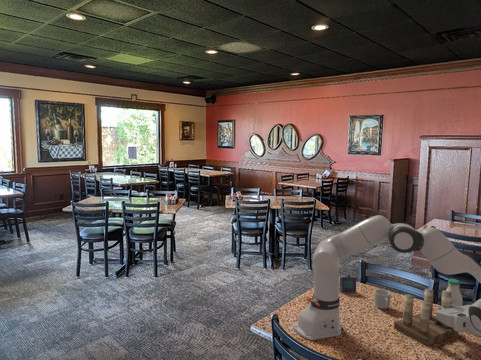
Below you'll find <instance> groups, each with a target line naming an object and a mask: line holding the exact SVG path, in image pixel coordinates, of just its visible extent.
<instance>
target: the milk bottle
mask: <svg viewBox="0 0 481 360" xmlns="http://www.w3.org/2000/svg"><path fill="white" fill-rule="evenodd" d="M447 284H448V286H447V288H446V290H445V291H449V292H451V304H452V305H455V306H459V307H460V306H463V296H462V295H463V294H462V293H461V290H460V285H461V282H460V280H458V279H455V278H449V279H448V280H447Z"/></svg>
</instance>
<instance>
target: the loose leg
mask: <svg viewBox="0 0 481 360" xmlns="http://www.w3.org/2000/svg"><path fill="white" fill-rule="evenodd" d="M441 305H442V306H444V309H448V308H451V292H449V291H446V290H441ZM441 305H440V306H441ZM440 326H441V327H442V328H445V329H449V328H450V327H449V326H447V325H445V324H443V323H442V322H440Z"/></svg>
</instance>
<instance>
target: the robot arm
mask: <svg viewBox="0 0 481 360" xmlns="http://www.w3.org/2000/svg"><path fill="white" fill-rule="evenodd" d="M383 241H384V242H388V243H389V245H390V247H391V248H392V249H393V250H394V251H396V252H397V253H401V254H409V253H412V252H418V251H419V252H421V253H422V254H423V255H424V256H425V258H426V259H427V260H428V262H429V263H430V265H431V266H432V267H433V268H434V270H436V271H437V272H439V273H441V274H443V275H449V276H450V275H457V274H463V273H467V274H469V275H471V276H472V277H474V278H475V280H477V282H478V283H480V284H481V262H479V261H477V259H475V258H474V257H473V256H472V255H469V254H463V253H462V252H460V250H458V249H457V248H456V247H455V245H454V244H453V243H452V242H451V241H450V239H449V238H447V236H446V235H445V234H444V233H443V232H442V231H440V229H438V228H436V227H426V228H424V229H422V230H418V229H415V228H414V227H413V226H412V225H411V224H409V223H406V222H390V221H389V220H388V218H387V217H385V216H383V215H381V214H380V215H379V214H378V215H373V216H371V217H368V218H366V219H364V220H362V221H360V222H357V223H356V224H355V225H352V226H351V227H349V228H347V229H345V230H344V231H341V232H339V233H337V234H334V235H333V236H332V235H331V236H329V237H328V238H326V239H324V240H321V241H320V242H319V243H318V245H317V246H316V248H315V249H314V253H313V254H312V269H313V271H312V272H313V294H312V296H311V297H310V296H307V297H305V298H306V301H307V302H309V303H310V304H309V305H307V306H306V307H305V309H303V310H302V311H301V312H300V313H299V315H298V320H297V321H296V322H294V323H292V328H293V331H295V332H296V333H297V334H298V335H299V336H301V337H302V338H305V339H306V340H310V341H314V340H315V341H317V340H320V339H321V340H322V339H326V338H331V337H339V336H341V335H342V329H343V328H342V323H341V318H340V309H339V308H340V305H341V304H340V303H341V301H340V296H339V295H340V291H339V287H340V272H339V265H340V260H343V259H344V258H347V257H350V256H353V255H357V254H358V255H359V254H360V253H361V252H364V251H365V250H367V249H369V248H371V247H373V246H375V245H376V244H378V243H381V242H383ZM435 316H436V318H437V320H438V321H440V322H442V323H443V324H445V325H447V326H449V327H453V330H455V331H457V332H458V333H469V334H473V335H475V336H477V337H481V297H480V298H479V299H478V300H476V301H475V302H474V303H472V304H466V305H465V304H464V305H462V306H460V307H459V306H455V305H452V304H451V308H448V309H444V306H442V305H438V310H436V311H435Z"/></svg>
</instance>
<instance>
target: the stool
mask: <svg viewBox="0 0 481 360" xmlns="http://www.w3.org/2000/svg"><path fill="white" fill-rule="evenodd" d="M423 294H424V297H423V299H424V300H423V301H421V302H420V311H419V312H420V313H418V314H414V315H413V313H414V312H413V311H414V296H413V295H411V294H404V301H403V317H402V319H400V320H396V321H394V324H393V329H394V330H396V331H398V332H400V333H402V334H403V335H405V336H407V337H409V338H411V339H412V340H415V341H416V342H418V343H421V345H423V346H425V345H426V347H428V345H429V346H431V345H433V343H434V344H436V343H438V341H439V342H441V341H443V340H446V339H448V338H450V337H453V336H455V335H458V334H459V332H457V331H455V330H453V327H450V328H449V329H445V328H442V327H441V326H440V321H438V320H437V318H436V315H433V311H434V306H433V305H434V289H432V288H425V289H424V293H423Z"/></svg>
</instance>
